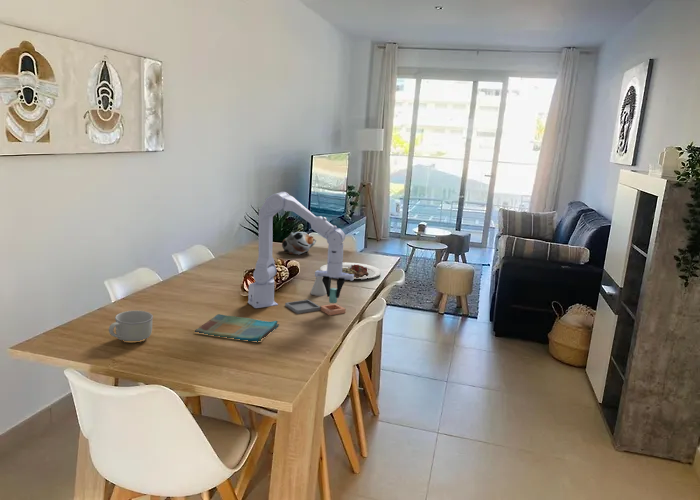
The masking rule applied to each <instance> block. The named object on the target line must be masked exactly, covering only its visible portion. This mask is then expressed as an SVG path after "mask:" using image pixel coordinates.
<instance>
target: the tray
mask: <svg viewBox="0 0 700 500" xmlns="http://www.w3.org/2000/svg"><path fill="white" fill-rule="evenodd" d="M284 306H285V307H286V308H288V309H289V310H291V311H293V312H294V313H295V314H297V315H298V314H299V315H300V314H305V313H310V312H317V311H321V307H320V306H321V305H318V304H316V303H315V302H313V301H311V300H310V299H303V300H302V299H301V300H295V301H289V302H288V301H287V302H285V305H284Z"/></svg>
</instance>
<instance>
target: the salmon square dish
mask: <svg viewBox="0 0 700 500" xmlns="http://www.w3.org/2000/svg"><path fill="white" fill-rule="evenodd" d="M319 306H320V307H321V310H320V311H321V312H323V313H325V314H327V315H328V316H334V315H341V314H346V312H347V311H346V308H345V307H343V306H341V305H339V304H338V303H330V304H325V305H319Z"/></svg>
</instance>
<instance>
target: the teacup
mask: <svg viewBox="0 0 700 500" xmlns="http://www.w3.org/2000/svg"><path fill="white" fill-rule="evenodd" d="M153 318H154V316H153V314H152V313H151V312H148V311H145V310H127V311H122V312H120V313H118V314H116V315H115V316H114V320H115V322H112V323H111V324H110V325H109V327H108V333H109V334H110V335H111V336H112V337H114V338H117V340H121V341H122V340H124V341H140V340H143V339H146V338H147V339H148V338H149V337H151V335H152V331H153ZM114 329H115V332H114ZM147 339H146V340H147Z"/></svg>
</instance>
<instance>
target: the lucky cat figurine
mask: <svg viewBox="0 0 700 500" xmlns="http://www.w3.org/2000/svg"><path fill="white" fill-rule="evenodd" d="M316 243H317V239H316V238H314V236H312V235H311V236H310V235H309V234H308V233H307V232H305V231H295V232H292V231H291V232H290V234H289V235H288V236H287V237H286V238H284V239H283V240H282V242H281V247H282V249H283V251H284V252H286V253H289V254H288V255H291V254H298V255H297V256H299V255H301V254H304V253H306V252H309V251H310V249H311V248H312V247H313V246H315V244H316Z"/></svg>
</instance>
